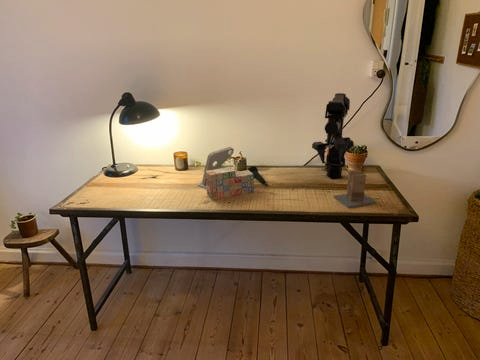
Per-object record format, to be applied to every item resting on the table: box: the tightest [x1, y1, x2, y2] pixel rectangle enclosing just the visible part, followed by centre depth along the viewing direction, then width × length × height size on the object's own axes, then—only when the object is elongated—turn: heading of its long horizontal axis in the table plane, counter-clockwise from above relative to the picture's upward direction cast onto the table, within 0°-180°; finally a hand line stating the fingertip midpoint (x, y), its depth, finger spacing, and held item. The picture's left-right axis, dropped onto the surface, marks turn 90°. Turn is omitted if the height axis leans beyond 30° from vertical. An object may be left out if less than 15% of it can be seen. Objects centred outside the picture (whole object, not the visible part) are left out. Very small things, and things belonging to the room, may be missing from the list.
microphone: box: [247, 165, 268, 188], centre depth 203 cm, size 6×6×20 cm
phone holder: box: [197, 146, 234, 190], centre depth 198 cm, size 17×10×18 cm, turn 137°
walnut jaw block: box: [346, 170, 367, 201], centre depth 175 cm, size 6×6×12 cm
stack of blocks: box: [206, 166, 255, 200], centre depth 186 cm, size 21×6×12 cm, turn 111°
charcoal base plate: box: [333, 193, 378, 209], centre depth 177 cm, size 14×12×1 cm
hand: (331, 162), depth 187 cm, fingers open, 9 cm apart
